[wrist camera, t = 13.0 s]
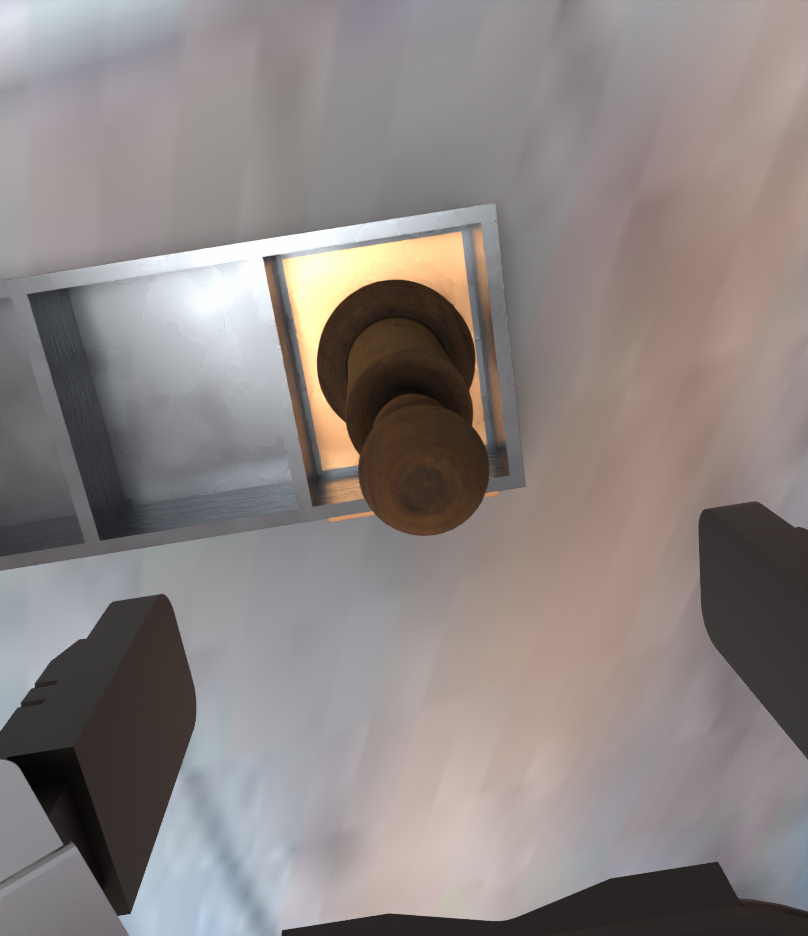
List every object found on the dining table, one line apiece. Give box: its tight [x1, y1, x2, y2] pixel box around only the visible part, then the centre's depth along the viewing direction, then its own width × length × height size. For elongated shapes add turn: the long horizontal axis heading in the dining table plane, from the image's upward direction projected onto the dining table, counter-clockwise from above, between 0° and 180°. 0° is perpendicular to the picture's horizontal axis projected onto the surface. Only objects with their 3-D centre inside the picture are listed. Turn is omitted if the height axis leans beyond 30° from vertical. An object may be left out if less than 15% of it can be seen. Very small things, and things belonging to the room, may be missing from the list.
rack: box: [0, 203, 526, 571], centre depth 32 cm, size 27×12×5 cm, turn 99°
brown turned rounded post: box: [317, 280, 490, 536], centre depth 25 cm, size 7×6×18 cm
